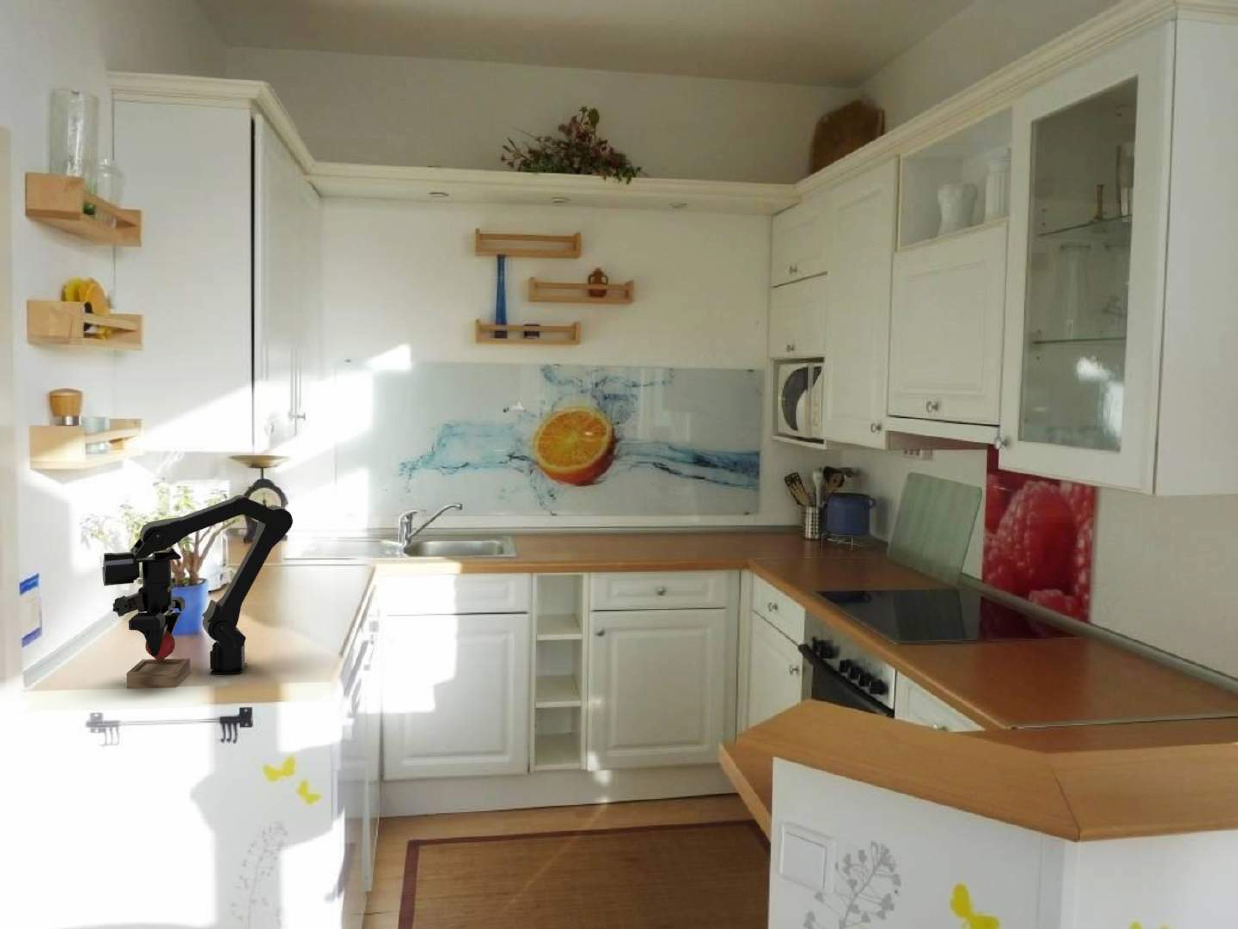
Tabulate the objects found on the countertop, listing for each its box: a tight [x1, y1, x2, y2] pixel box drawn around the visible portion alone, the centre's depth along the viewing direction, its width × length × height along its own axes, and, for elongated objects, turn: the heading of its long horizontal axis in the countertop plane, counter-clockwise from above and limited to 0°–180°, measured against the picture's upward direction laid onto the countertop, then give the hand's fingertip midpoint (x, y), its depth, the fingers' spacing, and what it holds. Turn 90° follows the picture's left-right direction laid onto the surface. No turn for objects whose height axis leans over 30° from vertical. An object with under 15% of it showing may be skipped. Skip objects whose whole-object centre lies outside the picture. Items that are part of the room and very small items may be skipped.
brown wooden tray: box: [126, 658, 191, 689], centre depth 213 cm, size 10×10×3 cm
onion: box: [145, 630, 176, 661], centre depth 212 cm, size 6×6×8 cm
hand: (159, 651), depth 213 cm, fingers closed on onion, 6 cm apart
